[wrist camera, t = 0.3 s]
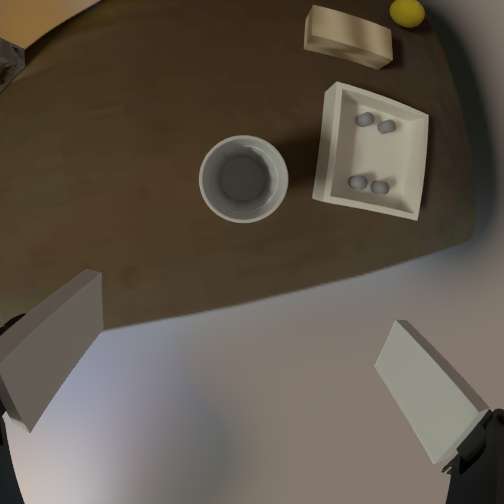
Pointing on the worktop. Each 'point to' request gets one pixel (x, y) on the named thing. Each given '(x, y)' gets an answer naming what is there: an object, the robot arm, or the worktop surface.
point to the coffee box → (10, 62)
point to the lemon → (407, 13)
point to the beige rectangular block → (347, 37)
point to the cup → (243, 179)
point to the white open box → (371, 152)
